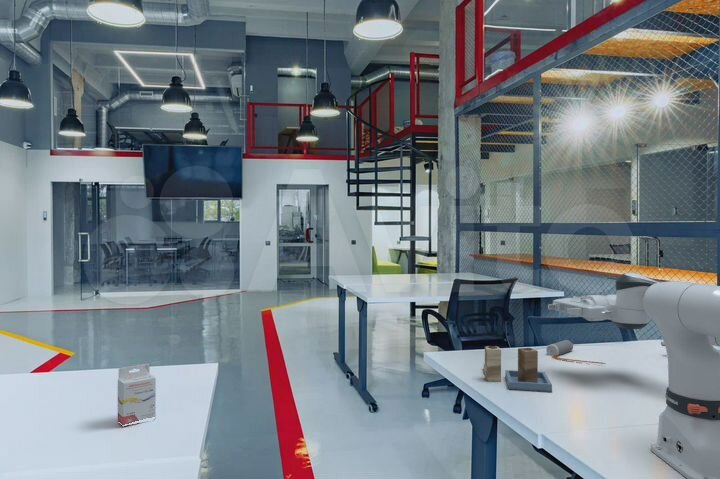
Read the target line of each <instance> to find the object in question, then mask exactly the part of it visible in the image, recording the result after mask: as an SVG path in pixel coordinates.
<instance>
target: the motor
mask: <svg viewBox="0 0 720 479" xmlns="http://www.w3.org/2000/svg"><path fill="white" fill-rule="evenodd" d="M573 349H574V343H573V342H572V341H571V340H568V339H564V340H561V341H557V342H555V343H551V344H548V345H547V346H546V353H547V355H548V356H549V355H550V356H549V357H552V358H553V359H555V360H558V361H561V360H562V361H563V362H569V363H574V362H576V364H581V363H586V364H585V365H588V363H589V364H601V365H602V364H603V365H604V364H605V365H606V364H607V363H606V362H602V361H601V362H599V361H590V360H589V361H588V360H578V359H570V358H564V357H563V358H562V357H558V356H561V355H565V354H567V353H569V351H570V352H572V350H573ZM562 361H561V362H562Z"/></svg>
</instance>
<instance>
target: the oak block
mask: <svg viewBox="0 0 720 479" xmlns="http://www.w3.org/2000/svg"><path fill="white" fill-rule="evenodd" d="M484 364H485V374H484V379H485V380H486V382H487V383H488V382H489V383H494V382H495V383H498V382H499V383H500V382H502V349H501V348H500V347H499V346H497V345H495V346H494V345H487V346H484Z"/></svg>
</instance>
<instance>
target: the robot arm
mask: <svg viewBox="0 0 720 479" xmlns="http://www.w3.org/2000/svg"><path fill="white" fill-rule="evenodd" d="M615 290H616V292H615V293H616V294H607V295H604V294H602V295H601V294H589V295H588V294H587V295H582V296H581V295H573V296H572V297H564V298H558V299H554V300H552V303H551V304H547V309H548V310H550V311H557V312H562V313H565V314H566V315H573V316H578V317H581V318H583V319H585V320H586V321H589V322H599V321H606V320H609V321H611V322H612V324H614V325H615V326H616V327H618V329H619V328H620V329H623V330H641V329H643V328H644V327H646V326H648V324H649V318H650V320H652V321H653V322H654V324H655V326H656V328H657V329H658V331H659V333H660V335H661V338H662V340H663V341H662V342H664V344H665V346H664V347H665V349H666V350H665V351H666V357H667V366H668V367H667V369H668V372H667V373H668V374H667V376H668V377H667V378H668V379H667V381H668V386H667V387H666V388H665V391H666V392H665V404H666V407H665V409H664V410H663V411H662V412H661V413H660V414H659V416H658V428H657V440H656V443H653V444H651V445H650V449H651V450H650V451H651V452H652V453H654V454H655V455H656V456H657V457H659V458H660V459H661V460H663V461H664V462H665V463H666V464H667V465H669V466H670V467H672V468H673V469H674V470H676V471H677V472H678V473H679V474H681V475H682V476H684V477H685V478H686V479H720V352H719V351H717V349H716V348H715V347H718V348H720V285H714V284H713V285H712V284H704V283H695V282H688V281H678V280H669V281H661V280H657V279H654V278H650V277H648V276H645V275H642V274H641V273H637V272H627V273H622V274H620V276H619V277H618V278H616V280H615ZM714 346H715V347H714Z"/></svg>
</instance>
